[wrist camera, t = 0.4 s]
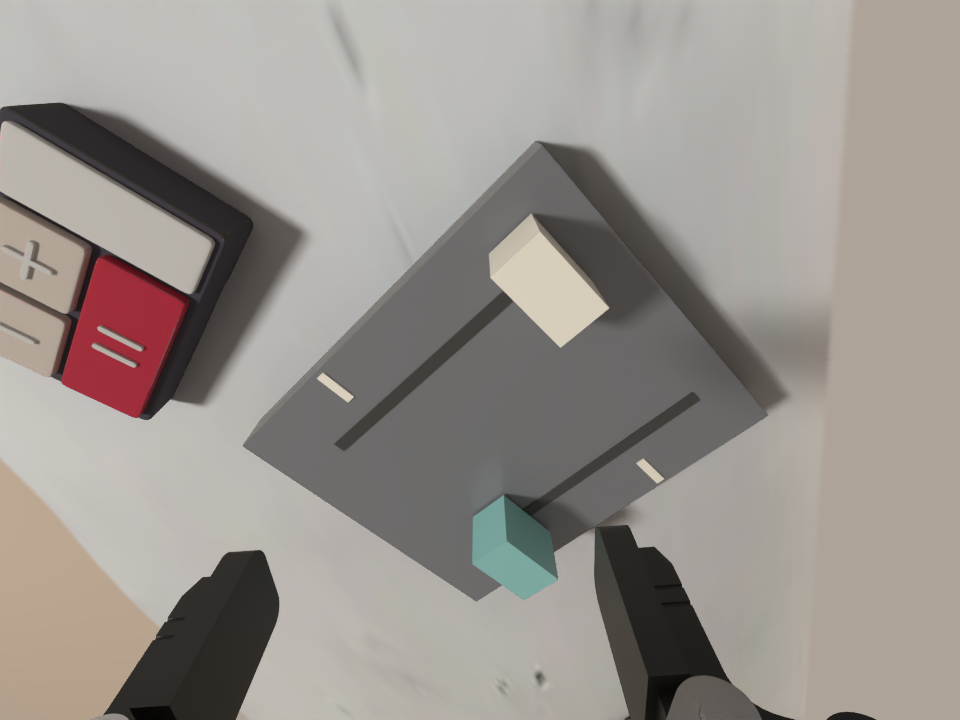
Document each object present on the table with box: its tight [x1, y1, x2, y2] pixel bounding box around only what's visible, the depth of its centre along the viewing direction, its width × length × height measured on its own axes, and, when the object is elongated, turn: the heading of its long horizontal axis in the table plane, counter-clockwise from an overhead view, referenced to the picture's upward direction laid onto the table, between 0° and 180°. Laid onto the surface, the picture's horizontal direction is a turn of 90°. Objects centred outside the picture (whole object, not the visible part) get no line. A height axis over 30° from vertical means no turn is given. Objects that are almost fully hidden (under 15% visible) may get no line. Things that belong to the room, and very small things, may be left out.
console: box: [243, 141, 768, 601], centre depth 33 cm, size 26×22×3 cm
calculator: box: [0, 103, 253, 420], centre depth 28 cm, size 11×4×15 cm
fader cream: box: [489, 214, 609, 348], centre depth 24 cm, size 3×5×4 cm, turn 44°
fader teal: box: [472, 495, 558, 600], centre depth 33 cm, size 3×5×4 cm, turn 44°
